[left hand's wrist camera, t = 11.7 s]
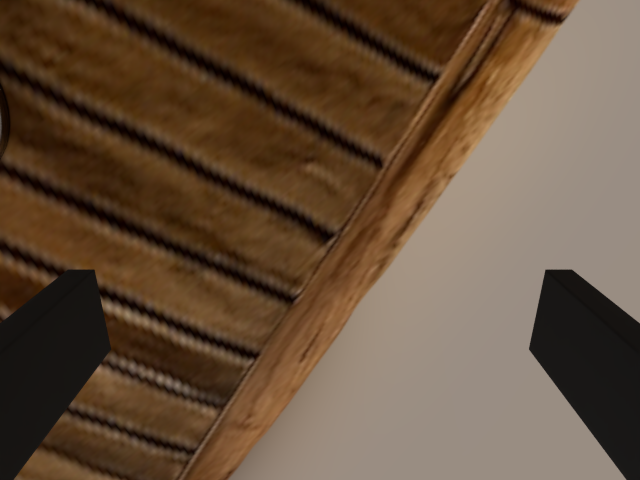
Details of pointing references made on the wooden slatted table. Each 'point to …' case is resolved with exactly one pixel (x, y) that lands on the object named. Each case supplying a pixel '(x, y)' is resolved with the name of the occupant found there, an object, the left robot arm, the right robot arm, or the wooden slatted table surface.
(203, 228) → the wooden slatted table surface
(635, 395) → the left robot arm
